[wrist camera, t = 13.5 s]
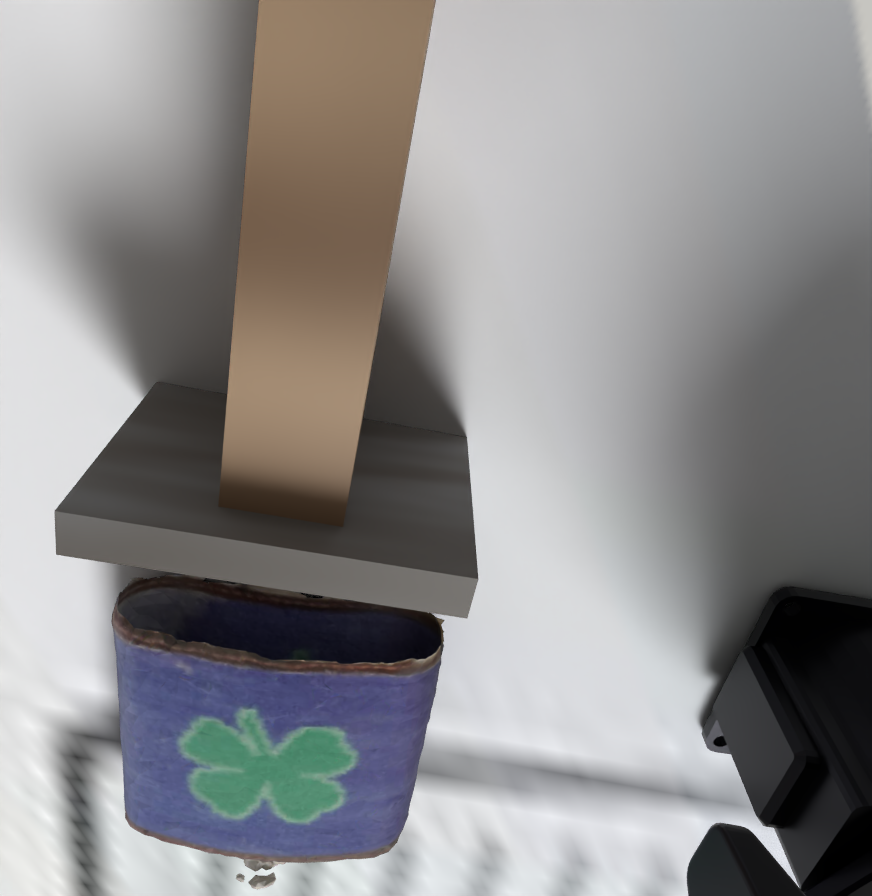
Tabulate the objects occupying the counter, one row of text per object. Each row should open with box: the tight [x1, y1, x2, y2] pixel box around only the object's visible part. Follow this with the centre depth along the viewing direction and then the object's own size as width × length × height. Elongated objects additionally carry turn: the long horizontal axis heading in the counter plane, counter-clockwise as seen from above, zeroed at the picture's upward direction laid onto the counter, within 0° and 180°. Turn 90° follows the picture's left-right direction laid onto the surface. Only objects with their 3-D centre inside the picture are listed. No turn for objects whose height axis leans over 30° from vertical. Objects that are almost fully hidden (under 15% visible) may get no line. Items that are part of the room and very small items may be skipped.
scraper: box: [55, 0, 478, 618], centre depth 15 cm, size 13×8×6 cm, turn 169°
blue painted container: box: [112, 574, 444, 889], centre depth 24 cm, size 9×3×11 cm
